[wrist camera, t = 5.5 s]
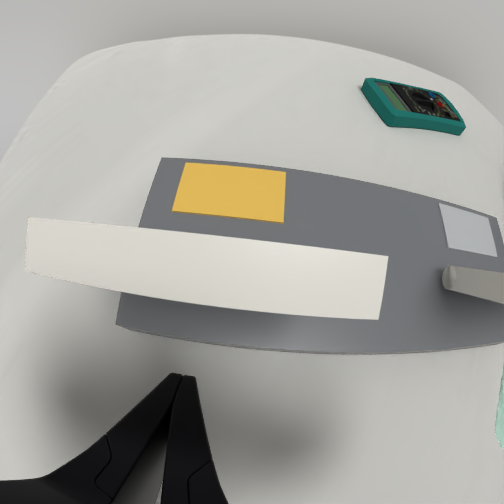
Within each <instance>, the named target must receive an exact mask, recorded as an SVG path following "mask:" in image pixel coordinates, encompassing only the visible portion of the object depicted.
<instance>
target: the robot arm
mask: <svg viewBox="0 0 504 504" xmlns="http://www.w3.org/2000/svg"><path fill="white" fill-rule="evenodd" d="M162 480H163V484H162V494H161V504H229V503H228V501H227V499H226V497H225V495H224V493H223V490H222V488H221V485H220V483H219V480H218V476H217V473H216V470H215V466H214V462H213V459H212V454H211V450H210V446H209V442H208V437H207V433H206V428H205V423H204V419H203V414H202V409H201V404H200V399H199V393H198V388H197V382H196V378H195V377H194V376H188V375H184V376H183V375H181V374H176V373H170V374H169V375H168V376H167V377H166V378H165V379H164V380H163V381H162V382H161V383H160V384H159V385H158V386H157V387H155V388H154V389H153V390H152V391H151V392H150V393H149V394H148V395H147V396H146V397H145V398H144V399H143V400H142V401H141V402H140V403H138V404H137V405H136V406H135V407H134V408H133V409H132V410H131V411H130V412H129V413H128V414H127V415H126V416H124V417H123V418H122V419H121V420H120V421H119V422H118V423H117V424H116V425H115V426H114V427H112V428H111V429H110V430H109V431H108V432H107V433H106V435H103V436H102V437H101V438H100V439H99V440H98V441H97V442H96V443H94V444H93V445H92V446H91V447H89V448H88V449H87V450H86V451H84V452H83V453H81V454H80V455H78V456H77V457H76V458H74V459H72V460H71V461H69V462H68V463H66V464H65V465H63V466H61V467H60V468H58V469H57V470H55V471H53V472H52V473H50V474H48V475H46V476H43V477H40V478H34V479H24V480H6V481H0V504H155V503H156V499H157V496H158V493H159V490H160V486H161V483H162Z"/></svg>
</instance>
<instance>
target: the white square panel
mask: <svg viewBox="0 0 504 504" xmlns="http://www.w3.org/2000/svg"><path fill="white" fill-rule="evenodd" d="M387 263H388V256H383V255H375V254H367V253H360V252H352V251H344V250H336V249H328V248H319V247H311V246H303V245H295V244H286V243H278V242H269V241H260V240H252V239H243V238H234V237H225V236H216V235H207V234H197V233H188V232H179V231H169V230H159V229H149V228H140V227H129V226H119V225H109V224H98V223H88V222H77V221H66V220H55V219H43V218H31V217H28V227H27V240H26V266H25V271H28V272H32V273H36V274H40V275H44V276H49V277H53V278H57V279H62V280H66V281H71V282H75V283H80V284H85V285H89V286H94V287H99V288H104V289H109V290H115V291H120V292H126V293H131V294H137V295H143V296H148V297H154V298H161V299H167V300H173V301H180V302H187V303H194V304H201V305H209V306H216V307H224V308H233V309H241V310H250V311H260V312H269V313H280V314H291V315H303V316H317V317H331V318H349V319H370V320H378V319H379V314H380V308H381V303H382V297H383V291H384V285H385V278H386V271H387Z"/></svg>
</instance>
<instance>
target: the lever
mask: <svg viewBox="0 0 504 504" xmlns="http://www.w3.org/2000/svg"><path fill="white" fill-rule="evenodd" d="M442 283H443V286H444V287H445V289H448V290H452V291H456V292H460V293H464V294H468V295H472V296H475V297H479V298H483V299H487V300H491V301H494V302H498V303H502V304H504V273H501V272H494V271H487V270H480V269H473V268H466V267H458V266H451V265H448V266H447V267H446V268H445V270H444V272H443V275H442Z"/></svg>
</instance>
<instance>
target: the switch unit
mask: <svg viewBox="0 0 504 504" xmlns="http://www.w3.org/2000/svg"><path fill="white" fill-rule="evenodd" d="M139 227H140V228H149V229H159V230H169V231H179V232H188V233H197V234H207V235H216V236H225V237H234V238H243V239H252V240H260V241H269V242H278V243H286V244H295V245H303V246H311V247H319V248H328V249H336V250H344V251H352V252H360V253H367V254H375V255H383V256H388V263H387V271H386V278H385V285H384V291H383V297H382V303H381V308H380V314H379V319H378V320H370V319H349V318H331V317H317V316H303V315H291V314H280V313H269V312H260V311H250V310H241V309H233V308H224V307H216V306H209V305H201V304H194V303H187V302H180V301H173V300H167V299H161V298H154V297H148V296H143V295H137V294H131V293H126V292H122V294H121V299H120V303H119V308H118V314H117V319H116V325H119V326H121V327H124V328H127V329H129V330H133V331H138V332H143V333H148V334H153V335H158V336H163V337H169V338H175V339H181V340H187V341H193V342H200V343H207V344H214V345H222V346H230V347H238V348H247V349H257V350H268V351H281V352H296V353H315V354H404V353H422V352H436V351H447V350H457V349H466V348H474V347H482V346H489V345H495V344H500V343H504V304H502V303H498V302H494V301H491V300H487V299H483V298H479V297H475V296H472V295H468V294H464V293H460V292H456V291H452V290H448V289H445V287H444V286H443V283H442V275H443V272H444V270H445V268H446V267H447V266H448V265H451V266H458V267H466V268H473V269H480V270H487V271H494V272H501V273H504V244H503V240H502V236H501V232H500V229H499V225H498V221H497V218H495V217H493V216H490V215H487V214H484V213H481V212H478V211H475V210H472V209H469V208H466V207H462V206H459V205H456V204H452V203H449V202H446V201H442V200H439V199H435V198H431V197H428V196H424V195H420V194H416V193H412V192H408V191H404V190H400V189H396V188H392V187H387V186H383V185H378V184H374V183H369V182H364V181H359V180H354V179H349V178H344V177H338V176H333V175H327V174H321V173H315V172H309V171H302V170H296V169H288V168H281V167H273V166H265V165H257V164H247V163H237V162H227V161H214V160H200V159H183V158H161V161H160V164H159V166H158V169H157V172H156V175H155V177H154V180H153V183H152V186H151V189H150V192H149V195H148V198H147V201H146V204H145V207H144V210H143V214H142V217H141V220H140V223H139Z"/></svg>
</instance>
